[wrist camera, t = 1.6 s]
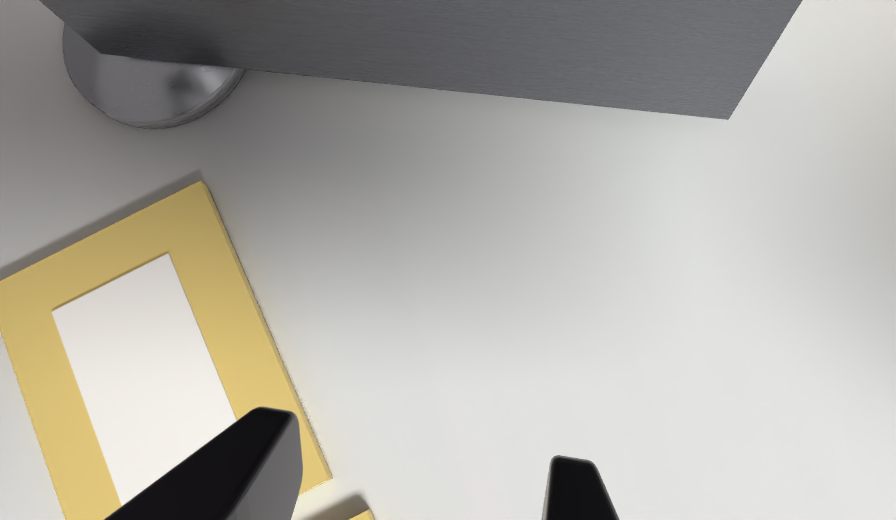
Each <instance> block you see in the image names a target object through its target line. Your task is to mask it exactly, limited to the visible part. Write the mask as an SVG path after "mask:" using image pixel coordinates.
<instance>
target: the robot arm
mask: <svg viewBox="0 0 896 520" xmlns="http://www.w3.org/2000/svg"><path fill="white" fill-rule="evenodd" d="M302 477H303V460H302V449H301V438H300V428H299V421H298V418H297V416H296V414H295V413H294V412H291V411H288V410H282V409H276V408H270V407H257V408H254V409H252V410H251V411H249V412H248V413H247V414H245V415H244V416H243V417H241V418H240V419H238V420H237V421H236V422H234V423H233V424H232V425H230V426H229V427H228V428H226V429H225V430H224V431H222V432H221V433H220V434H218V435H217V436H216V437H214V438H213V439H212V440H210V441H209V442H208V443H206V444H205V445H203V446H202V447H201V448H199V449H198V450H197V451H195V452H194V453H193V454H191V455H190V456H189V457H187V458H186V459H185V460H183V461H182V462H181V463H179V464H178V465H177V466H175V467H174V468H172V469H171V470H170V471H168V472H167V473H166V474H164V475H163V476H162V477H160V478H159V479H158V480H156V481H155V482H154V483H152V484H151V485H150V486H148V487H147V488H146V489H144V490H143V491H141V492H140V493H139V494H137V495H136V496H135V497H133V498H132V499H131V500H129V501H128V502H127V503H125V504H124V505H123V506H121V507H120V508H119V509H117V510H116V511H115V512H113V513H112V514H110V515H109V516H108V517H106V518H105V519H104V520H291V517H292V514H293V511H294V507H295V504H296V501H297V498H298V495H299V491H300V488H301V483H302ZM542 520H619V517H618V515H617V513H616V510H615V508H614V506H613V503H612V501H611V499H610V497H609V494H608V492H607V490H606V487H605V485H604V483H603V480H602V478H601V476H600V473H599V471H598V469H597V467H596V466H595V464H594V463H593V462H591V461H589V460H584V459H578V458H572V457H566V456H560V455H557V456H554V457H553V458H552V459H551V462H550V467H549V473H548V480H547V487H546V493H545V500H544V506H543V513H542Z"/></svg>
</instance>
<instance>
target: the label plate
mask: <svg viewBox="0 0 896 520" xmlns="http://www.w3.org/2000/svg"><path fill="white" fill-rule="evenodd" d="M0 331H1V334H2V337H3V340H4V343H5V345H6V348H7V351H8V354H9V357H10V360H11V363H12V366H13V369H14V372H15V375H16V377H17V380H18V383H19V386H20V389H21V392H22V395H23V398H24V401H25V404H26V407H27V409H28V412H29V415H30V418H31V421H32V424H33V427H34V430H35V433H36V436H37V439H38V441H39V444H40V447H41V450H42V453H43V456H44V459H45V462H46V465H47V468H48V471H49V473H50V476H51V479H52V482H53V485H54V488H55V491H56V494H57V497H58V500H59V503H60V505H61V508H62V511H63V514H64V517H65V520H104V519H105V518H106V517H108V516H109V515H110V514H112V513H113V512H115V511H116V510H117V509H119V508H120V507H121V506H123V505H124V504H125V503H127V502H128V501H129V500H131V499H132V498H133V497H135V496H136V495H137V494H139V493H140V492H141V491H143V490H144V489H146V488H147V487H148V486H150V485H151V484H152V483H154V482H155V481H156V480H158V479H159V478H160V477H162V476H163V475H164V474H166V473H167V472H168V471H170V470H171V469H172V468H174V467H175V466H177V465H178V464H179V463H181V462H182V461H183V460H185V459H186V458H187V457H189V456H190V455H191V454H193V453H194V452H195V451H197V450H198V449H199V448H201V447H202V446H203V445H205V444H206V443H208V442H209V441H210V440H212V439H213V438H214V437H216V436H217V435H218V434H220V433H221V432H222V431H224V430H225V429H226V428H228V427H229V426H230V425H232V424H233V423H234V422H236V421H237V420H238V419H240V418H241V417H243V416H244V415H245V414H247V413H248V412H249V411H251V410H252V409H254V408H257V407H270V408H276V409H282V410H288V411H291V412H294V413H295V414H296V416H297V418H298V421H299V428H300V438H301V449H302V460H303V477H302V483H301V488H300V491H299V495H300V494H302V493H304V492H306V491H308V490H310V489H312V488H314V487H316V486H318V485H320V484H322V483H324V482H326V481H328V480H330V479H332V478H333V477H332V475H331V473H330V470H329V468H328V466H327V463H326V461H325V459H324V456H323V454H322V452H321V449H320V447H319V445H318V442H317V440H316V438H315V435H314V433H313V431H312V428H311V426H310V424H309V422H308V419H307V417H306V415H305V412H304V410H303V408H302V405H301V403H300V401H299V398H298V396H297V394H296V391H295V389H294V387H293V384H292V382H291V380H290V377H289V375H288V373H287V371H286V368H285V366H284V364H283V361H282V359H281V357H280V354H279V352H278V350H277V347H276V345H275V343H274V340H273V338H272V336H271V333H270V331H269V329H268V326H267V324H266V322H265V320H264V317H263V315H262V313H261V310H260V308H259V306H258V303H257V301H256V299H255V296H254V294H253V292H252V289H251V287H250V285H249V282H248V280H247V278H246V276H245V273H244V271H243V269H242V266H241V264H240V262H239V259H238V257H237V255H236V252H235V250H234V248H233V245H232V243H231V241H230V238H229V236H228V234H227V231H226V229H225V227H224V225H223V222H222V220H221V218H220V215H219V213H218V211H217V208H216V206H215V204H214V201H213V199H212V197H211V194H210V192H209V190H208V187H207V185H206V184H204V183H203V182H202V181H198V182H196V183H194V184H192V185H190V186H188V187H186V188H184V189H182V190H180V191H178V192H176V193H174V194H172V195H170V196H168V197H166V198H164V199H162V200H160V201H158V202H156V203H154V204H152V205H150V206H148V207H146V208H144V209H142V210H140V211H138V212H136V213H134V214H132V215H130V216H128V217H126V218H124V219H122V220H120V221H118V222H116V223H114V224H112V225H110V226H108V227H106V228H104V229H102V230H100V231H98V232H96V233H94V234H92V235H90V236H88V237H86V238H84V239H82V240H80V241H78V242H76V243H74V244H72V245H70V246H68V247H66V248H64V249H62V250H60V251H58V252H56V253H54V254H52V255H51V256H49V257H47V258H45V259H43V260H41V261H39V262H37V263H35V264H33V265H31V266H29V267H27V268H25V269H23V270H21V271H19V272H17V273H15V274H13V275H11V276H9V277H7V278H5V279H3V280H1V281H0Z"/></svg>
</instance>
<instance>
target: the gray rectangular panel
mask: <svg viewBox="0 0 896 520" xmlns="http://www.w3.org/2000/svg"><path fill="white" fill-rule="evenodd" d="M40 1H41V2H42V3H43V4H44V5H45V6H46V7H48V8H49V9H50V10H51V11H52V12H53V13H54V14H56V15H57V16H58V17H59V18H60V19H61V20H63V21H64V22H65V23H66V24H67V25H68V26H69V27H71V28H72V29H73V30H74V31H75V32H76V33H78V34H79V35H80V36H81V37H82V38H83V39H84V40H86V41H87V42H88V43H89V44H90V45H91V46H93V47H94V48H95V49H96V50H97V51H98V52H99V53H101V54H106V55H115V56H125V57H134V58H144V59H153V60H163V61H173V62H182V63H192V64H201V65H211V66H220V67H230V68H240V69H249V70H259V71H268V72H278V73H287V74H297V75H307V76H316V77H326V78H335V79H345V80H354V81H364V82H373V83H383V84H393V85H402V86H412V87H421V88H431V89H440V90H450V91H460V92H469V93H479V94H488V95H498V96H507V97H517V98H527V99H536V100H546V101H555V102H565V103H574V104H584V105H593V106H603V107H613V108H622V109H632V110H641V111H651V112H660V113H670V114H680V115H689V116H699V117H708V118H718V119H727V120H728V119H729V118H730V116H731V115H732V113H733V111H734V110H735V108H736V106H737V105H738V103H739V102H740V100H741V98H742V97H743V95H744V94H745V92H746V90H747V89H748V87H749V85H750V84H751V82H752V81H753V79H754V77H755V76H756V74H757V73H758V71H759V69H760V68H761V66H762V64H763V63H764V61H765V60H766V58H767V56H768V55H769V53H770V52H771V50H772V48H773V47H774V45H775V44H776V42H777V40H778V39H779V37H780V35H781V34H782V32H783V31H784V29H785V27H786V26H787V24H788V23H789V21H790V19H791V18H792V16H793V14H794V13H795V11H796V10H797V8H798V6H799V5H800V3H801V2H802V0H40Z"/></svg>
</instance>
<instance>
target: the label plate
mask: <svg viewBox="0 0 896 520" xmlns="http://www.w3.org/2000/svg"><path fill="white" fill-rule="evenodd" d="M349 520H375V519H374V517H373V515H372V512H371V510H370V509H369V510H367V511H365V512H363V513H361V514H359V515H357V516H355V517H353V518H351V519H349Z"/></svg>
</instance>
